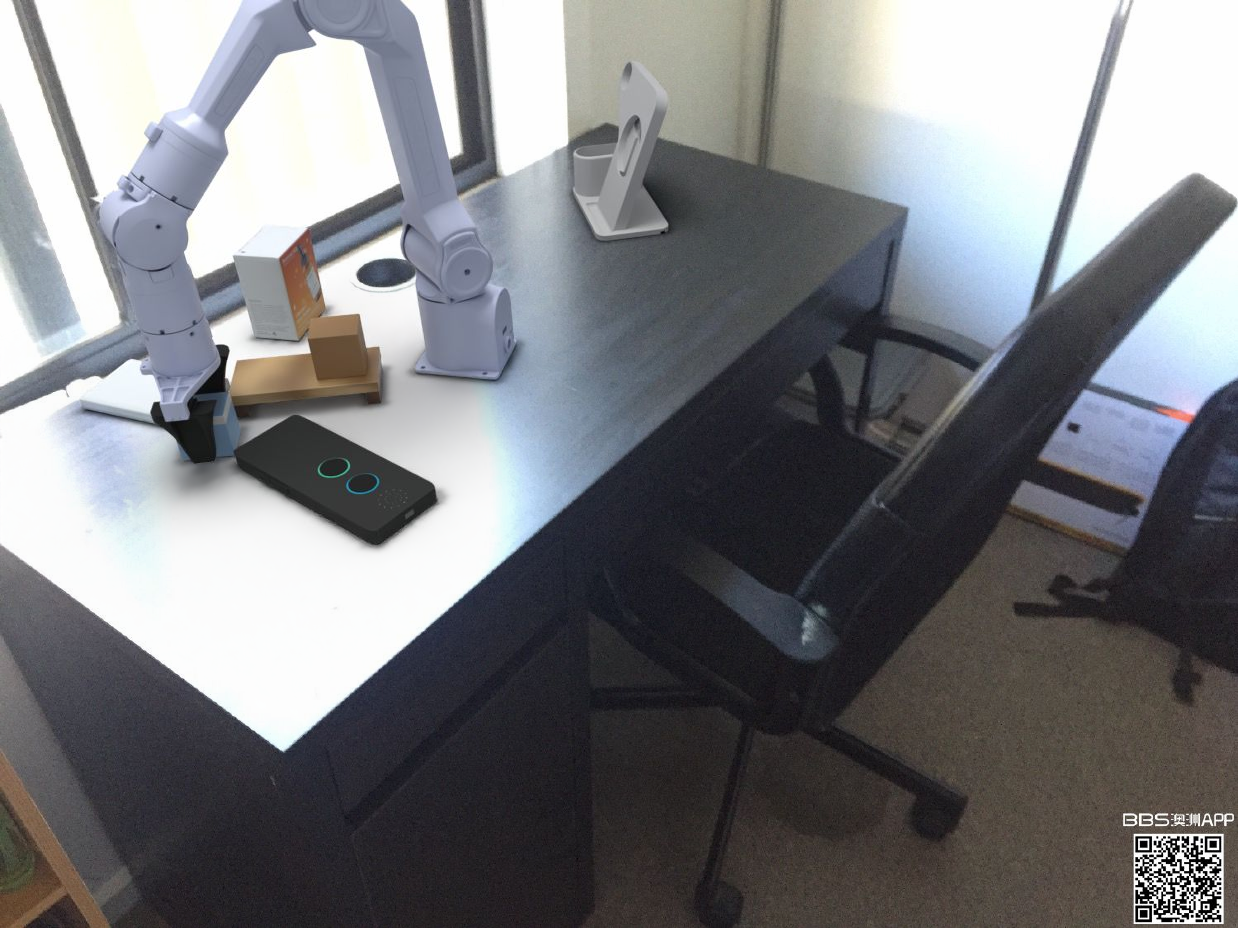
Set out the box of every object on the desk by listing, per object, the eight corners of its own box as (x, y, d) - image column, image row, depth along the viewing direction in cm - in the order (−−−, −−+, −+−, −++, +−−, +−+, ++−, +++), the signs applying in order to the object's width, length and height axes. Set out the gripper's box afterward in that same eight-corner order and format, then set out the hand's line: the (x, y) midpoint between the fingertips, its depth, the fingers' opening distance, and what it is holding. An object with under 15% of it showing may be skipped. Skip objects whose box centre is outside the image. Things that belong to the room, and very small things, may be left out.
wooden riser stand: (383, 368, 115) (379, 346, 113) (382, 404, 110) (377, 381, 108) (242, 382, 114) (236, 360, 112) (234, 419, 108) (227, 396, 106)
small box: (298, 342, 120) (278, 258, 113) (253, 338, 121) (230, 255, 114) (327, 308, 126) (310, 226, 119) (284, 304, 127) (264, 223, 120)
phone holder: (570, 189, 151) (564, 61, 140) (639, 181, 153) (637, 54, 142) (597, 242, 138) (593, 105, 127) (672, 232, 140) (673, 96, 129)
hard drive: (135, 369, 116) (231, 388, 113) (83, 410, 110) (183, 431, 107) (131, 357, 115) (227, 375, 112) (78, 398, 109) (178, 418, 106)
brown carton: (367, 354, 112) (359, 313, 109) (366, 375, 109) (357, 334, 106) (319, 358, 112) (310, 317, 109) (317, 380, 108) (307, 338, 105)
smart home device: (371, 532, 91) (228, 451, 101) (375, 547, 92) (232, 465, 102) (439, 483, 96) (296, 410, 106) (441, 498, 97) (300, 424, 107)
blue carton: (241, 430, 107) (229, 391, 104) (235, 455, 103) (223, 415, 100) (190, 435, 106) (176, 396, 103) (183, 461, 103) (169, 421, 100)
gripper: (142, 284, 101) (181, 401, 109) (107, 365, 90) (154, 488, 98) (217, 278, 102) (251, 394, 110) (193, 357, 90) (232, 480, 99)
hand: (210, 438), depth 104 cm, fingers open, 7 cm apart
